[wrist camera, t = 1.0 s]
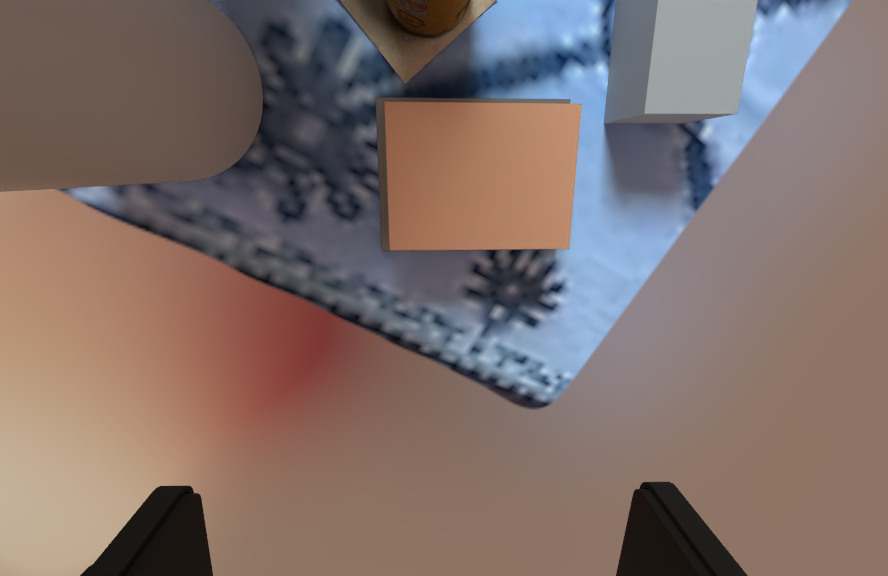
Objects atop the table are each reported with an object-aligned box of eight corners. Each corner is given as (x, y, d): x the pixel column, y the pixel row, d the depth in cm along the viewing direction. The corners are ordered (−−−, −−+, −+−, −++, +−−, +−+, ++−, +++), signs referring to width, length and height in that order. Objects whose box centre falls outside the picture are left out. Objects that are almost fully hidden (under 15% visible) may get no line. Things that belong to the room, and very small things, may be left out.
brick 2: (618, -31, 28) (668, -82, 23) (701, -29, 29) (771, -79, 23) (602, 123, 31) (644, 113, 25) (679, 123, 32) (737, 113, 26)
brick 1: (394, 238, 32) (389, 250, 27) (390, 112, 29) (384, 101, 24) (546, 236, 32) (568, 248, 28) (555, 114, 30) (581, 103, 25)
